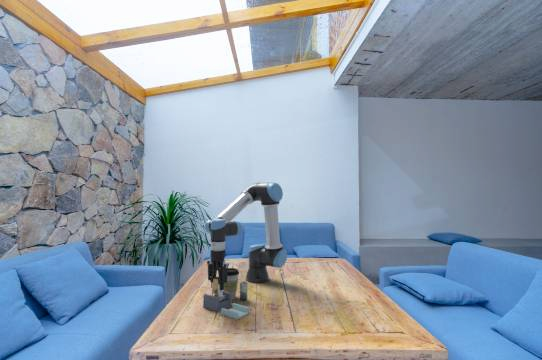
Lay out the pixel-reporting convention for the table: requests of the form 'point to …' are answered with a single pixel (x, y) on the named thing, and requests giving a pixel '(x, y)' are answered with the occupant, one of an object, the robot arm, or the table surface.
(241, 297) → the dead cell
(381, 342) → the table surface
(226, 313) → the trough
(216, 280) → the cell
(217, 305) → the cradle
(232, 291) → the coffee cup
